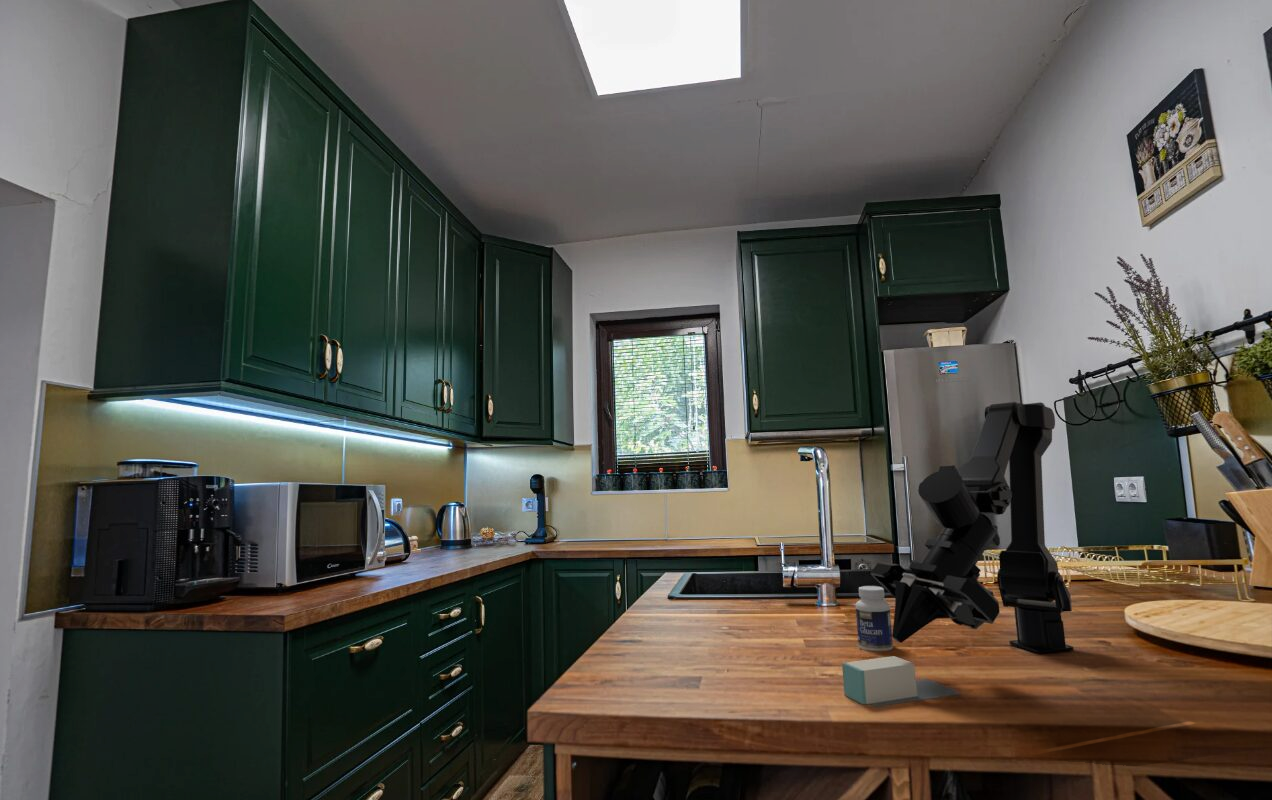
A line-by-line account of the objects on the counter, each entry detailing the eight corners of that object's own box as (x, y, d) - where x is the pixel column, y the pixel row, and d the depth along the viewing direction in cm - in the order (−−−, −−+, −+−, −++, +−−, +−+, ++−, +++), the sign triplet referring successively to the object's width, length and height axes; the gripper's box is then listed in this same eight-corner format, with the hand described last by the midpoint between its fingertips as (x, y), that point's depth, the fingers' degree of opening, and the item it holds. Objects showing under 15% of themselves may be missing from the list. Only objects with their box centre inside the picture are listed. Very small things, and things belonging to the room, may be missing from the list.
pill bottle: (857, 651, 107) (852, 590, 109) (859, 643, 112) (855, 584, 114) (893, 653, 105) (887, 591, 107) (893, 645, 110) (888, 585, 112)
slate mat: (927, 681, 91) (926, 679, 91) (962, 695, 85) (962, 693, 85) (844, 693, 88) (844, 691, 88) (875, 709, 81) (875, 706, 81)
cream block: (894, 656, 89) (842, 663, 87) (914, 663, 85) (860, 671, 83) (896, 687, 88) (844, 695, 86) (917, 696, 85) (862, 704, 82)
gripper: (1054, 598, 83) (992, 701, 79) (947, 578, 101) (891, 662, 97) (996, 538, 82) (930, 640, 78) (898, 529, 100) (840, 611, 96)
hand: (896, 640), depth 87 cm, fingers closed
